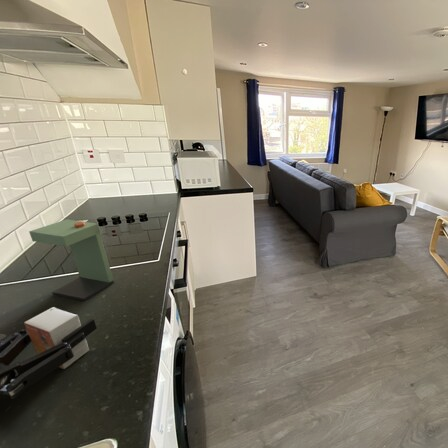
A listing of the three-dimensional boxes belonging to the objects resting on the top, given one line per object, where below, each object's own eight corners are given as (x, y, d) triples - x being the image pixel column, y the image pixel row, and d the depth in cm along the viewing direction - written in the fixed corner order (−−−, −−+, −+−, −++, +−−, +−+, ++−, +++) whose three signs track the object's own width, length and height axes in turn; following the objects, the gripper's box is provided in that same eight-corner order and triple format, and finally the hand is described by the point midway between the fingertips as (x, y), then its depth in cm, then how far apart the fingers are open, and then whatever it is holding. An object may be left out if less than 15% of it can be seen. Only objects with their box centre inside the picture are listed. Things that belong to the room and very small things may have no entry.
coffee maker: (53, 294, 80) (27, 228, 72) (85, 277, 89) (65, 216, 81) (84, 301, 77) (62, 233, 69) (114, 282, 86) (97, 221, 78)
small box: (39, 359, 58) (22, 322, 54) (66, 341, 63) (52, 305, 59) (63, 370, 56) (48, 332, 52) (90, 350, 61) (77, 314, 57)
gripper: (-97, 416, 45) (49, 324, 65) (-7, 452, 40) (119, 341, 61) (-121, 385, 42) (39, 299, 63) (-28, 420, 38) (111, 315, 58)
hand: (78, 320), depth 62 cm, fingers closed on small box, 8 cm apart
